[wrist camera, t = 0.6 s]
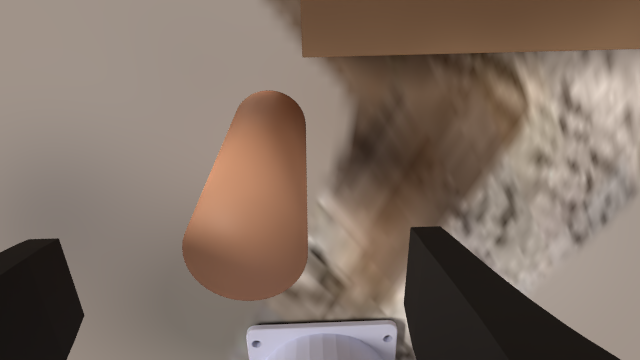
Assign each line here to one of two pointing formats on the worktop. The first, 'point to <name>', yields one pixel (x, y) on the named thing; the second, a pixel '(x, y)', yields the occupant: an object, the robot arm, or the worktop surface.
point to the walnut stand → (466, 26)
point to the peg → (253, 204)
